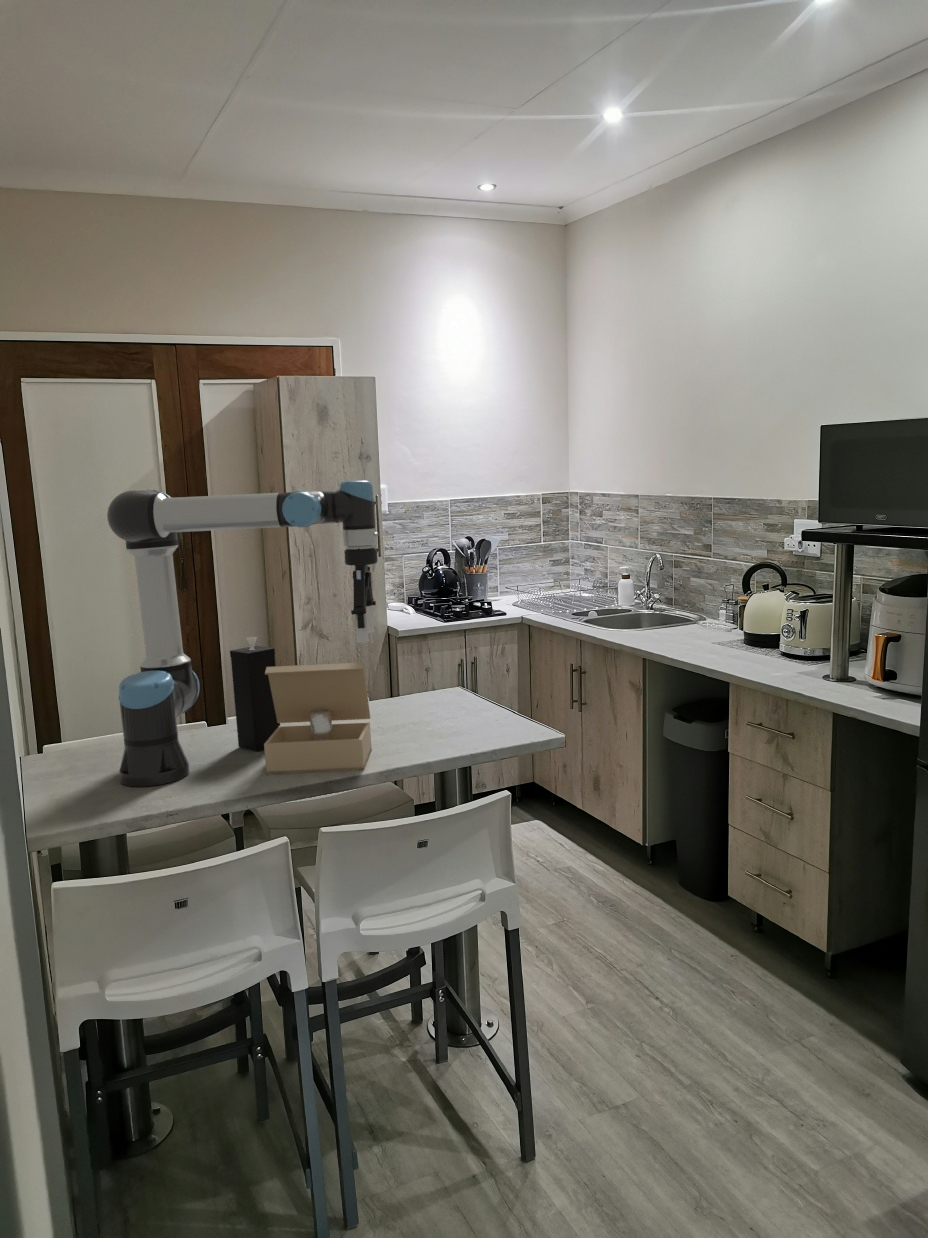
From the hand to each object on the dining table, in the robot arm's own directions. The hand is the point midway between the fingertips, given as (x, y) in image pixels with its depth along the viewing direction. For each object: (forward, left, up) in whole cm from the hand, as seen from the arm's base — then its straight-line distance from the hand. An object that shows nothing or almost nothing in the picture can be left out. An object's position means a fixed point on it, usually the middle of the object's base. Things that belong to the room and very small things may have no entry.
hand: (365, 637), depth 218 cm
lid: (-12, -4, -13) cm, 18 cm away
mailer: (-12, -7, -28) cm, 31 cm away
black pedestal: (-30, +9, -28) cm, 42 cm away
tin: (-12, -3, -28) cm, 30 cm away
